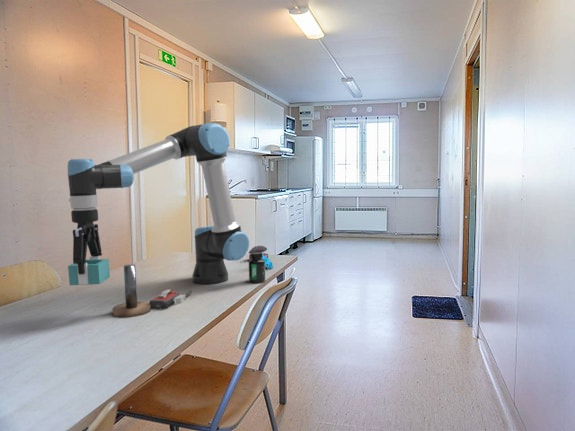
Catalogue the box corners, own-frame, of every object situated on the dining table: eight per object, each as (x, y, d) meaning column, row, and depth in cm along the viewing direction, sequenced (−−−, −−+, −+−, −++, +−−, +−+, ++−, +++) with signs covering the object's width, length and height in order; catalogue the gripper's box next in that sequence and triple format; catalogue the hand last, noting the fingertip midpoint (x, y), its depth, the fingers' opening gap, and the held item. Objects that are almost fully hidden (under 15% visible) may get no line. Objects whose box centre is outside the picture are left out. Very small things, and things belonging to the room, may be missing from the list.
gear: (268, 267, 203) (255, 251, 206) (259, 276, 205) (246, 260, 208) (278, 266, 213) (265, 250, 216) (269, 274, 215) (257, 259, 218)
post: (138, 305, 149) (136, 264, 148) (135, 308, 145) (133, 266, 144) (127, 305, 149) (125, 264, 147) (124, 308, 145) (122, 266, 144)
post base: (154, 305, 154) (154, 301, 153) (145, 316, 142) (145, 312, 141) (119, 306, 153) (119, 302, 153) (107, 317, 141) (106, 313, 141)
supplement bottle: (255, 284, 180) (254, 255, 179) (245, 281, 185) (245, 253, 184) (268, 281, 185) (268, 253, 184) (258, 278, 190) (258, 251, 189)
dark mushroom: (250, 270, 227) (241, 253, 226) (257, 264, 236) (248, 248, 236) (268, 261, 223) (259, 244, 222) (275, 255, 232) (265, 239, 232)
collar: (109, 276, 145) (108, 258, 144) (99, 284, 136) (98, 264, 135) (81, 278, 144) (80, 259, 143) (69, 285, 135) (67, 266, 134)
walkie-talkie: (170, 311, 148) (194, 295, 167) (170, 298, 147) (194, 283, 167) (146, 310, 149) (172, 294, 169) (145, 297, 149) (172, 282, 168)
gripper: (86, 206, 148) (91, 272, 150) (55, 213, 126) (62, 290, 129) (108, 205, 148) (113, 271, 151) (82, 212, 127) (88, 288, 129)
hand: (89, 280), depth 140 cm, fingers closed on collar, 9 cm apart
